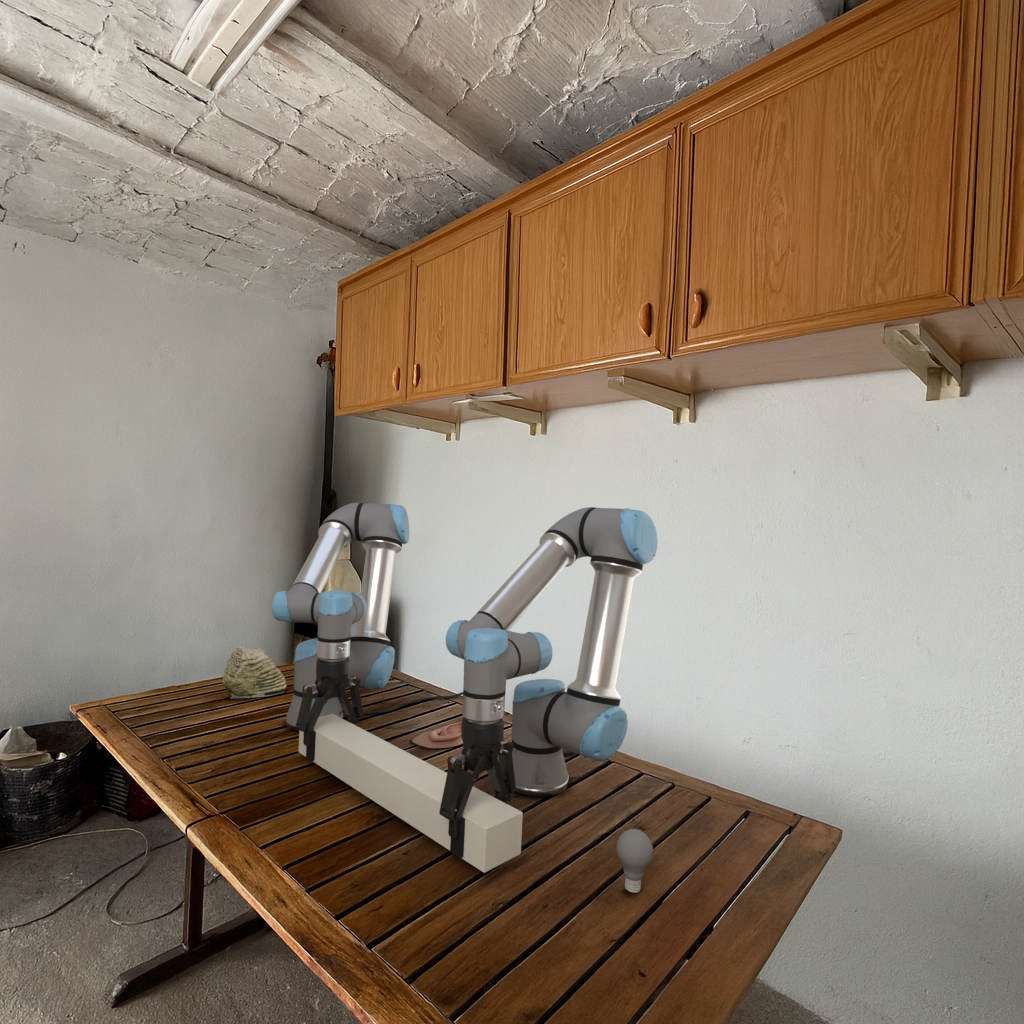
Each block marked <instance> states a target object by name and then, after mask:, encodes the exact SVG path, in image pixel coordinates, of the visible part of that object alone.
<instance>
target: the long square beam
mask: <svg viewBox="0 0 1024 1024" xmlns="http://www.w3.org/2000/svg"><path fill="white" fill-rule="evenodd" d="M346 720H347V719H344V718H343V719H342V718H340V717H338V716H336V715H334V714H330V715H326V716H322V717H318V720H317V722H316V724H315V726H314V729H313V731H315V732H316V740H315V760H314V761H312V762H313V763H314V764H316V765H317V766H319V767H320V768H322V769H323V770H325V771H327V772H328V773H330V774H331V775H333V776H335V777H336V778H337V779H338V780H341V781H342V782H344V783H345V784H346V785H348V786H349V787H351V788H353V789H354V790H356V791H357V792H359V793H361V794H362V795H364V796H365V797H367V798H368V799H370V800H371V801H373V802H374V803H376V804H378V805H379V806H381V807H382V808H384V809H385V810H386V811H388V812H390V813H391V814H393V816H396V817H397V818H399V819H401V820H402V821H403V822H405V823H407V824H408V825H410V827H411V826H412V827H413V828H414V829H415V830H417V831H419V832H420V833H422V834H424V835H425V836H427V837H428V838H429V839H431V840H433V841H434V842H435V843H437V844H439V845H441V846H442V847H444V849H447V850H448V851H450V842H451V837H450V836H449V834H448V830H449V820H448V819H447V818H445V817H443V816H442V815H440V814H439V811H440V806H441V801H442V797H443V792H444V787H445V782H446V777H447V772H446V771H444V770H442V769H440V768H439V767H436V766H434V765H433V764H430V763H429V762H426V761H425V760H423V759H421V758H419V757H417V756H415V755H413V754H412V753H409V752H408V751H406V750H404V749H402V748H400V747H398V746H396V745H394V744H393V743H390V742H388V741H387V740H384V739H383V738H382V737H381V738H380V737H379V736H378V735H377V736H376V735H375V734H373V733H372V732H369V731H367V730H366V729H363V728H361V727H359V726H357V724H355V725H354V724H352V723H350V722H348V721H346ZM303 739H304V731H303V732H302V731H300V730H299V731H298V753H299V754H301V755H302V756H304V757H305V758H306V746H305V745H304V743H303ZM494 797H495V796H493V795H490V794H488V793H487V792H484V791H483V790H482V789H481V790H480V789H479V788H477V787H475V786H473V787H472V790H471V793H470V795H469V798H468V801H467V804H466V806H465V809H464V812H463V815H462V817H463V818H465V836H464V857H462V858H461V860H464V861H465V862H466V863H468V864H470V865H471V866H473V867H474V868H476V869H477V870H479V871H481V872H482V873H483V874H486V873H487V872H490V871H491V870H492V869H495V868H497V867H499V866H500V865H503V864H504V863H506V862H508V861H510V860H512V859H514V858H516V857H517V856H520V855H521V854H522V841H523V840H522V839H523V819H524V818H523V816H524V815H523V814H524V813H523V811H521V810H519V809H518V808H515V807H513V806H512V805H510V804H508V803H507V804H506V803H504V802H502V801H500V800H498V799H496V798H497V797H496V798H494ZM455 810H456V809H455ZM456 811H457V810H456Z"/></svg>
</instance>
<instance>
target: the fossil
mask: <svg viewBox="0 0 1024 1024" xmlns="http://www.w3.org/2000/svg"><path fill="white" fill-rule="evenodd" d="M222 676H223V677H222V685H223V687H224V688H225V690H226V691H228V693H229V698H230V699H250V698H264V697H271V696H275V695H281V694H284V693H285V691H286V689H287V687H288V686H287V680H286V678H285V676H284V674H283V673H282V672H281V669H279V668H278V667H277V665H276V663H275V662H274V660H273V659H272V658H271V657H270V656H269V655H268V654H267V653H266V652H265V650H264V649H263V648H260V647H258V648H251V647H247V646H246V647H245V646H238V647H237V648H236V649H235V650H233V651H232V653H231V656H230V657H229V659H228V660H227V663H226V666H225V668H224V671H223V675H222Z"/></svg>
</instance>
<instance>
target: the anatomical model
mask: <svg viewBox="0 0 1024 1024" xmlns="http://www.w3.org/2000/svg"><path fill="white" fill-rule="evenodd" d="M461 725H462V721H459V722H454V723H450V724H447V725H444V726H442V727H439V728H436V729H434V730H433V729H432V730H429V731H425V732H422V733H420V734H418V735H417V736H415V737H413V738H412V740H411V742H412V743H413V744H414V745H416V746H417V745H418V746H420V747H424V748H427V749H443V748H444V749H446V748H454V747H458V746H460V745H463V741H462V738H461Z"/></svg>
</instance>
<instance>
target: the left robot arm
mask: <svg viewBox="0 0 1024 1024" xmlns="http://www.w3.org/2000/svg"><path fill="white" fill-rule="evenodd" d="M409 521H410V520H409V514H408V511H407V508H406V507H405V506H403V505H400V504H393V503H372V502H371V503H370V502H368V503H367V502H351V503H348V504H345V505H343V506H340V507H339V508H338V509H336V510H335V511H333V512H332V513H330V514H329V515H328V516H327V517H326V518H325V519H324V520H323V521H322V523H321V525H320V527H319V529H318V533H317V534H318V537H317V540H316V541H315V543H314V545H313V547H312V549H311V551H310V553H309V554H308V556H307V558H306V560H305V562H304V563H303V565H302V567H301V569H300V571H299V573H298V574H297V576H296V578H295V580H294V582H293V584H292V585H291V586H290V589H288V590H279V591H278V592H276V593H275V594H274V596H273V598H272V601H271V613H272V617H273V618H274V619H275V620H276V621H279V622H287V623H307V624H317V637H315V638H312V639H307V640H304V641H302V642H300V643H298V644H297V645H296V648H295V655H294V659H293V661H294V670H293V671H294V672H293V695H292V696H293V697H292V699H291V702H290V703H289V705H288V711H287V713H286V715H285V726H286V728H287V729H289V730H291V731H294V732H295V731H296V732H299V730H300V731H302V732H303V731H304V739H303V743H304V745H305V746H306V757H305V758H306V759H308V760H309V761H310V762H313V761H314V760H315V740H316V732H315V731H313V729H314V726H315V724H316V722H317V720H318V717H322V716H326V715H330V714H334V715H336V716H338V717H340V718H342V719H344V715H345V717H346V719H345V720H346V721H348V722H350V723H352V724H354V725H356V724H357V723H358V722H359V719H360V718H363V717H364V715H377V714H384V713H389V712H393V711H395V710H398V709H400V708H403V707H405V706H408V705H411V704H414V703H418V702H422V701H427V700H441V699H442V700H443V699H454V698H457V697H460V696H463V691H461V692H458V693H456V694H453V695H437V696H436V695H435V696H426V697H420V698H416V699H413V700H410V701H407V702H403V703H400V704H398V705H396V706H394V707H391V708H387V709H381V710H373V711H372V710H371V711H364V709H363V702H362V697H361V691H360V689H364V690H367V691H368V690H381V689H383V688H384V687H385V686H386V685H387V684H388V683H389V681H390V678H391V675H392V673H393V670H394V664H395V657H396V656H395V655H396V650H395V648H394V647H393V646H391V640H390V638H388V636H387V634H386V633H387V628H388V627H387V626H388V618H389V610H390V603H391V602H390V601H391V594H392V587H393V581H394V580H393V579H394V571H395V565H396V556H397V555H398V554H399V553H400V552H401V551H402V549H403V545H406V544H408V543H409V540H410V522H409ZM351 542H362V544H361V546H362V548H363V549H364V550H365V558H364V559H365V560H364V567H363V571H362V572H363V573H362V580H361V587H360V593H358V592H355V591H352V592H351V591H350V592H349V591H347V590H326V591H323V590H324V588H325V586H326V585H327V582H328V580H329V578H330V577H331V574H332V572H333V571H334V568H335V566H336V564H337V563H338V560H339V558H340V556H341V554H342V552H343V549H346V548H347V547H348V546H349V545H350V543H351ZM354 624H355V628H354V632H352V625H354ZM346 689H349V692H350V699H351V701H350V700H349V695H348V693H347V690H346Z"/></svg>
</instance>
